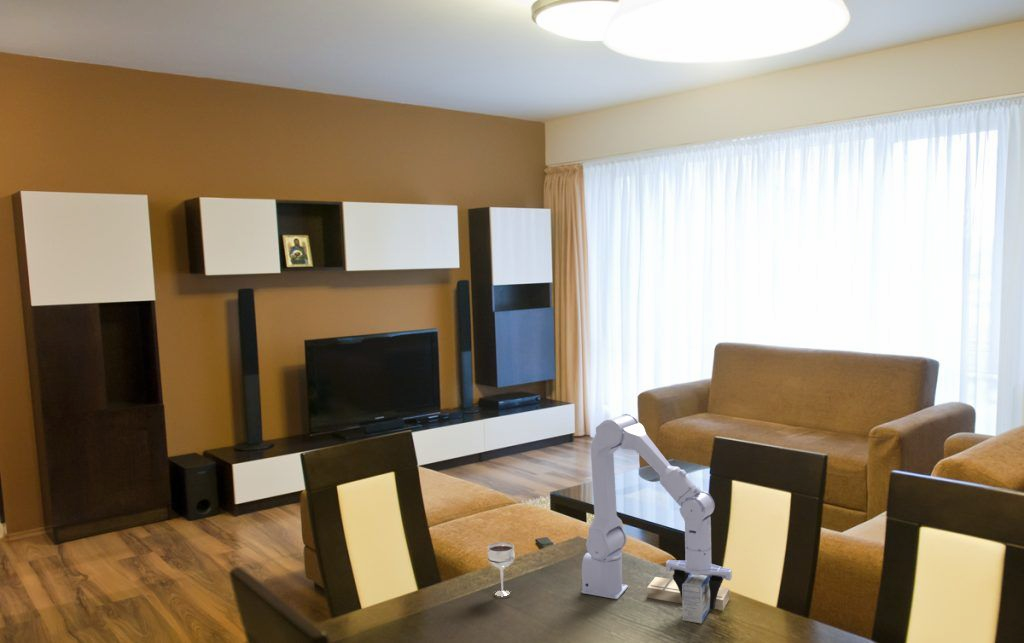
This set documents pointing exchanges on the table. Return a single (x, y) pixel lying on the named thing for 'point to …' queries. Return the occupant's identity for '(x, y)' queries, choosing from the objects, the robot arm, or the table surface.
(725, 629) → the table surface
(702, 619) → the medicine box
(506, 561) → the wineglass
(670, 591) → the cream striped flat box
